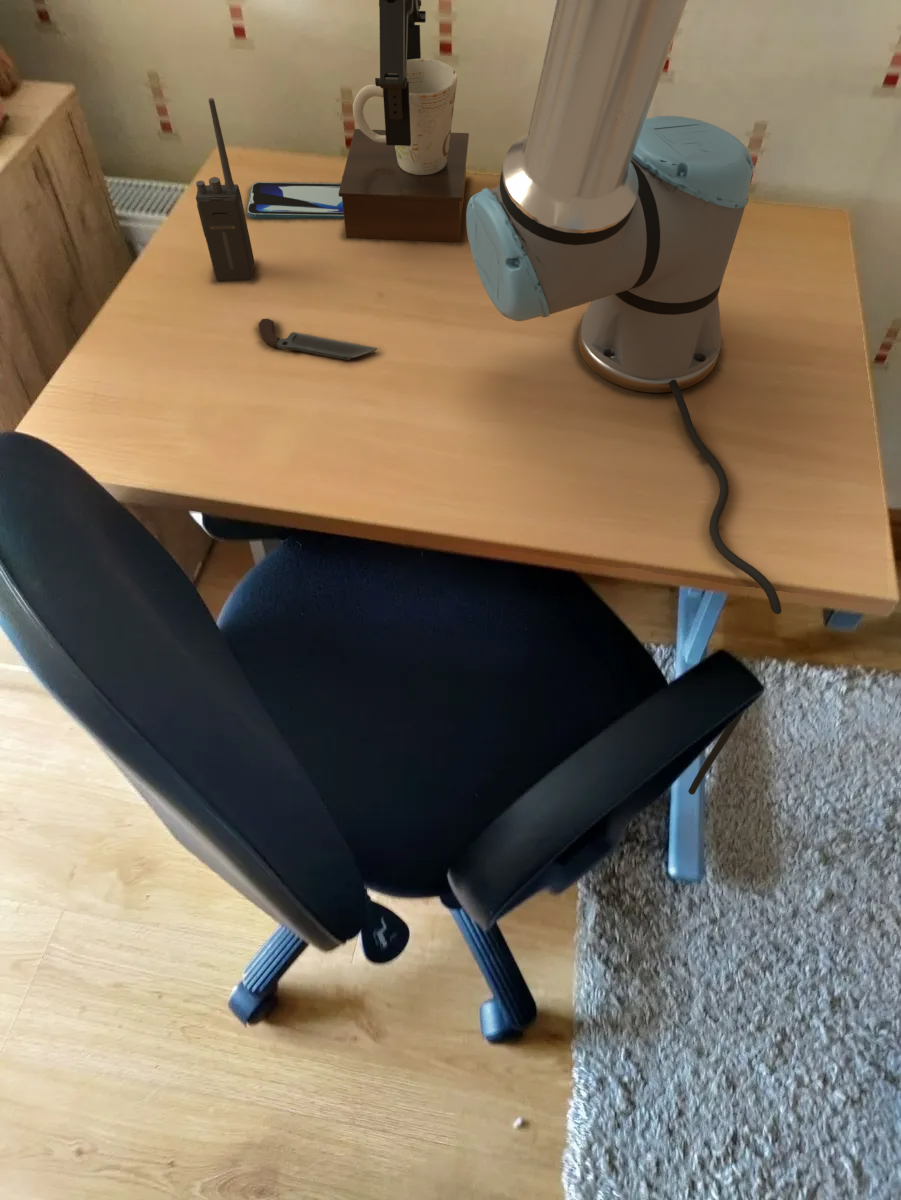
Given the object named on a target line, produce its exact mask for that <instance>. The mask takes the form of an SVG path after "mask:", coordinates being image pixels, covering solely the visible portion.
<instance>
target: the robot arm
mask: <svg viewBox="0 0 901 1200" xmlns="http://www.w3.org/2000/svg"><path fill="white" fill-rule="evenodd" d="M687 3H688V0H556V2H555V7H554V11H553V16H552V21H551V26H550V30H549V34H548V38H547V39H548V40H547V43H546V44H547V45H546V50H545V53H544V59H543V62H542V67H541V71H540V77H539V82H538V86H537V90H536V96H535V100H534V104H533V110H532V114H531V119H530V124H529V128H528V131H527V132H526V133H524V134H523V135H522V136H520V137H519V138H517V139H516V140H515V141H514V142H513V143H511V146H510V147H509V148H508V150H507V152H506V153H505V156H504V159H503V163H502V167H501V170H500V171H501V172H500V177H499V182H498V185H497V186H496V187H493V188H490V189H489V187H484V188H482V189H481V191H479V192H476V193H475V194H473V195H472V196H471V197H470V198H469V200H468V203H467V206H466V212H465V213H466V216H465V217H466V218H465V223H466V224H465V225H466V232H467V239H468V244H469V249H470V252H471V256H472V259H473V263H474V266H475V269H476V272H477V275H478V277H479V279H480V282H481V284H482V287H483V288H484V291H485V293H486V295H487V296H488V298H489V300H490V301H491V303H492V304H493V305H494V307H495V308H496V310H497V311H498V312H499V313H500V314H501V315H502V316H503V317H505V318H507V319H509V320H512V321H515V322H523V321H529V320H531V319H536V318H540V317H542V318H548V317H550V315H554V314H557V313H559V312H562V311H565V310H568V309H572V308H575V307H578V306H581V305H585V304H588V303H589V304H588V306H587V308H586V310H585V312H584V313H583V315H582V318H581V321H580V324H579V325H580V326H579V332H578V341H577V342H578V348H579V349H578V350H579V352H580V355H581V357H582V359H583V360H584V362H585V363H586V364H587V366H588V367H589V368H590V369H591V370H592V371H593V372H594V373H595V374H597V375H598V376H600V377H601V378H603V379H604V380H606V381H608V382H609V383H612V384H614V385H616V386H618V387H621V388H625V389H628V390H632V391H637V392H641V393H642V392H643V393H670V392H671V393H672V396H673V397H674V400H675V402H676V405H677V407H678V410H679V413H680V416H681V419H682V422H683V424H684V428H685V429H686V432H687V434H688V436H689V439H690V440H691V442H692V443H693V445H694V447H695V448H696V449H697V451H698V452H699V454H701V455H702V457H703V458H704V459H705V460H706V462H707V463H708V465H710V467H711V468H712V470H713V471H714V473H715V475H716V477H717V480H718V483H719V493H718V494H719V495H718V498H717V501H716V503H715V506H714V509H713V511H712V514H711V516H710V521H709V534H710V538H711V541H712V542H713V545H714V547H715V549H716V550H717V552H718V553H719V554H720V555H721V556H722V557H723V558H724V559H726V561H728V562H729V563H731V565H733V566H735V567H736V568H737V569H739V570H740V571H742V572H743V573H745V574H746V575H747V576H748V577H750V578H751V579H753V581H755V582H756V583H757V584H758V585H759V586H760V587H761V588H762V590H763V592H764V593H765V595H766V597H767V600H768V601H769V605H770V609H771V611H772V612H773V613H774V614H775V615H781V613H782V605H781V600H780V598H779V596H778V594H777V593H778V592H777V590H776V589H775V587H774V586H773V584H772V583H771V581H770V580H769V579H768V578H767V577H766V575H764V574H763V573H762V572H760V570H759V569H757V568H755V567H754V566H753V565H751V564H750V563H748V562H747V561H746V560H744V559H742V558H741V557H739V556H738V555H737V554H735V553H734V552H733V551H731V549H730V548H729V547H728V546H727V545H726V544H725V543H724V541H723V538H722V537H721V534H720V520H721V518H722V514H723V512H724V509H725V507H726V505H727V502H728V498H729V494H730V491H729V490H730V486H729V485H730V484H729V480H728V477H727V473H726V471H725V469H724V468H723V466H722V464H721V463H720V461H719V460H718V458H716V456H715V455H714V453H712V451H711V450H710V448H709V447H707V446H706V444H705V443H704V442H703V440H702V438H701V437H700V435H699V433H698V432H697V431H698V430H697V429H696V428H695V425H694V423H693V420H692V417H691V414H690V412H689V408H688V406H687V403H686V401H685V399H684V396H683V393H682V391H681V390H683V389H687V388H690V387H692V386H694V385H697V384H698V383H700V382H702V381H703V380H705V378H706V377H708V375H710V373H711V372H712V371H713V369H714V368H715V366H716V363H717V360H718V357H719V354H720V351H721V347H722V326H721V314H720V313H721V312H720V302H719V293H720V290H721V286H722V283H723V280H724V276H725V273H726V270H727V266H728V263H729V260H730V258H731V257H730V256H731V254H732V251H733V248H734V243H735V241H736V237H737V234H738V231H739V227H740V225H741V222H742V218H743V215H744V211H745V208H746V206H747V205H748V203H749V195H748V193H749V189H750V187H751V186H750V185H751V183H752V182H751V181H752V179H753V173H754V162H753V158H752V155H751V153H750V151H749V149H748V148H747V146H746V145H745V144H744V143H743V142H742V141H741V140H740V139H738V137H736V136H735V135H733V134H732V133H730V132H729V131H727V130H726V129H724V128H721V127H719V126H717V125H715V124H712V123H710V122H708V121H707V122H706V121H704V120H703V121H702V120H700V119H696V118H692V117H686V116H679V115H658V116H657V115H656V116H652V117H648V113H649V109H650V107H651V105H652V102H653V99H654V96H655V93H656V91H657V88H658V84H659V82H660V80H661V76H662V73H663V71H664V67H665V65H666V63H667V60H668V56H669V54H670V51H671V47H672V45H673V43H674V39H675V36H676V33H677V31H678V28H679V26H680V22H681V19H682V16H683V13H684V11H685V8H686V5H687ZM421 7H422V0H378V8H379V11H378V12H379V13H378V15H379V77H375V79H374V83H375V84H374V85H376V86H380V87H381V88H383V97H382V98H383V99H382V100H383V112H384V113H383V114H384V128H385V129H384V130H385V131H386V145H396V146H410V145H411V130H410V104H409V82H408V81H407V60H410V59H422V52H421V51H422V50H421V49H422V48H421V25H420V24H419V23H421V24H422V23H426V22H427V21H426V19H427V17H426V15H427V13H426V12H427V11H426V10H421ZM416 23H418V24H416ZM388 73H396V74H388ZM744 713H745V711H744V712H743V713H742V714H741V715H739V716H738V717H737V718H736V719H735V720H734V721H733V722H731V723H730V724H729V725H728V724H727V725H728V726H727V725H726V726H727V727H726V726H725V728H724V729H723V732H722V733H721V735H720V736H719V738H718V740H717V741H716V743H715V744H714V746H713V748H712V749H711V751H710V752H709V754H708V755H707V757H706V759H705V760H704V762H703V764H702V765H701V767H700V768H699V770H698V772H697V774H696V775H695V777H694V779H693V781H692V783H691V785H690V786H689V787H688V790H687V791H688V792H687V793H688V794H689V795H695V794H696V792H697V791H698V788H699V787H700V785H701V783H702V781H704V778H705V776H706V774H707V773H708V771H709V770H710V768H711V767H712V765H713V764H714V762H715V761H716V759H717V757H718V756H719V754H720V752H721V751H722V750H723V748H724V747H725V745H726V744H727V742H728V740H729V739H730V738H731V736H732V734H733V732H734V731H735V729H736V728H737V726H738V724H739V722H740V720H741V718H742V717H743V715H744Z"/></svg>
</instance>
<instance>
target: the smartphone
mask: <svg viewBox="0 0 901 1200" xmlns="http://www.w3.org/2000/svg"><path fill="white" fill-rule="evenodd" d="M340 185H341V182H339V183H338V182H337V183H335V182H334V183H333V182H287V181H285V182H284V181H283V182H282V181H256V182H254V183H253V184H252V185H251V186H250V192H249V198H248V201H247V207H246V212H247V217H249V218H250V219H252V220H330V219H331V220H335V219H336V220H341V219H343V220H344V211H343V202H342V197H339V189H340Z"/></svg>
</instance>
